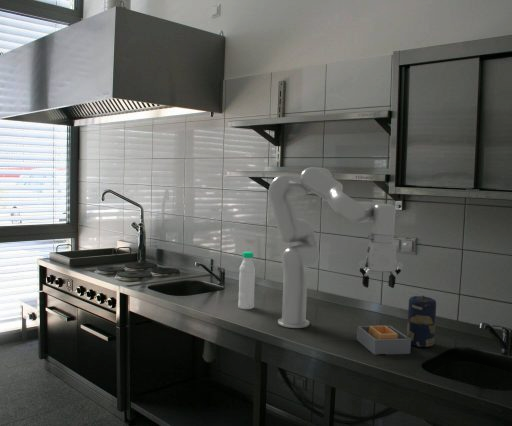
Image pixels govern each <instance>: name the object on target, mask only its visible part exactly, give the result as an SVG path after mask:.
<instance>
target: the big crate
mask: <svg viewBox="0 0 512 426" xmlns="http://www.w3.org/2000/svg"><path fill="white" fill-rule="evenodd" d="M369 326H370V325H369ZM369 326H368V325H366V326H365V325H364V326H363V325H362V326H361V325H359V326H357V327H356V328H357V329H356V340H357V341H358V342H359V343H360V344H361V345H362V346H364V347H365V348H366V349H367V350H368V351H369V352H370V353H371V354H373V355H375V356H379V354H386V355H410V354H411V347H412V346H411V345H412V344H411V339H410V338H408V337H407V335H405V334H404V333H403V332H401V331H399V330H398V329H396V328H395V327H393V326H392V325H386V326H387V327H388V328H390V329H391V330H393V331H394V332H396V333H397V334H398V339H378V340H377V339H375V338H374V337H373V336H371V335H370V334H369ZM377 354H378V355H377Z"/></svg>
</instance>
